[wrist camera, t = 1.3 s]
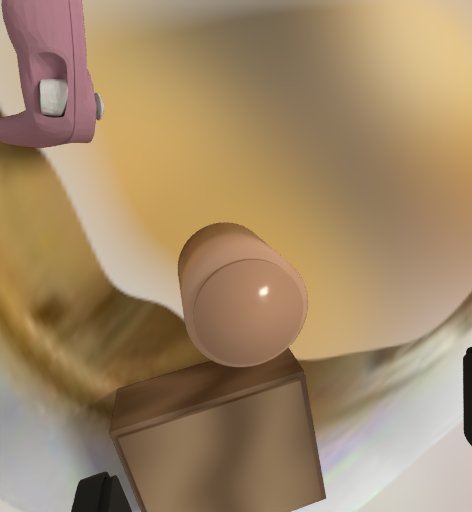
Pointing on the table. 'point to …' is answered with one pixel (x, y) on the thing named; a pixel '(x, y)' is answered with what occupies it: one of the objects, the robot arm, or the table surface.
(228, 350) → the canister
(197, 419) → the walnut block
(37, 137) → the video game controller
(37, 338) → the table surface
